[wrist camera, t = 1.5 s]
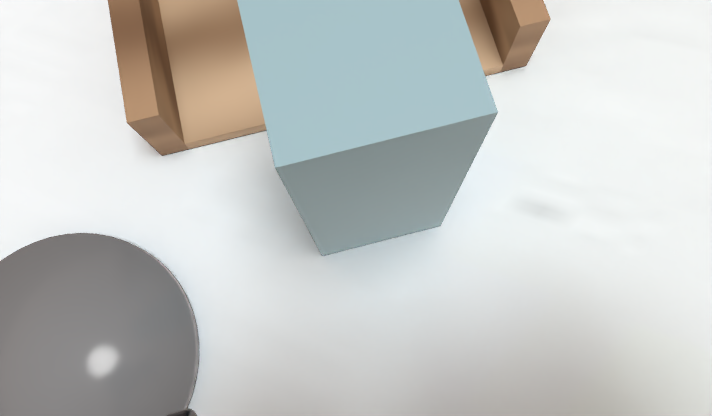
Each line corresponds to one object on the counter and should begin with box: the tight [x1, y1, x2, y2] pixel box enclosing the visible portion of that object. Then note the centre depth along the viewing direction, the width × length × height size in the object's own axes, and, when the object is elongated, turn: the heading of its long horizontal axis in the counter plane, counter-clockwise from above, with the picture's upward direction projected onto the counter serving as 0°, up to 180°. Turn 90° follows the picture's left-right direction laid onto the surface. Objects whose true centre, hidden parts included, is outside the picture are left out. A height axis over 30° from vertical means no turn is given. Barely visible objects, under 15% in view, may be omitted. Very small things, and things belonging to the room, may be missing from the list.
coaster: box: [0, 233, 199, 416], centre depth 21 cm, size 10×10×1 cm
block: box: [237, 0, 498, 256], centre depth 18 cm, size 5×5×11 cm
